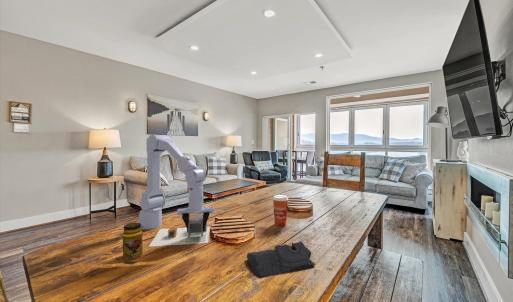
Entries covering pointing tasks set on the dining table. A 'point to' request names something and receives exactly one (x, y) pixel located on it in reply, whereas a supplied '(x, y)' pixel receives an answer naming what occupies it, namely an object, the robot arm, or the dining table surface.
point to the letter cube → (172, 232)
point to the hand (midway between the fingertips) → (196, 231)
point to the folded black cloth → (280, 260)
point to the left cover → (195, 226)
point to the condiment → (132, 242)
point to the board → (179, 238)
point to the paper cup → (280, 210)
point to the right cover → (201, 217)
